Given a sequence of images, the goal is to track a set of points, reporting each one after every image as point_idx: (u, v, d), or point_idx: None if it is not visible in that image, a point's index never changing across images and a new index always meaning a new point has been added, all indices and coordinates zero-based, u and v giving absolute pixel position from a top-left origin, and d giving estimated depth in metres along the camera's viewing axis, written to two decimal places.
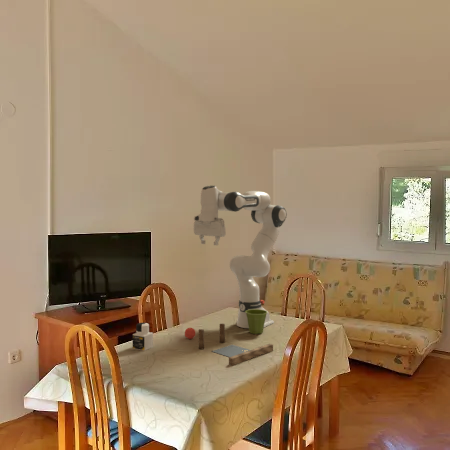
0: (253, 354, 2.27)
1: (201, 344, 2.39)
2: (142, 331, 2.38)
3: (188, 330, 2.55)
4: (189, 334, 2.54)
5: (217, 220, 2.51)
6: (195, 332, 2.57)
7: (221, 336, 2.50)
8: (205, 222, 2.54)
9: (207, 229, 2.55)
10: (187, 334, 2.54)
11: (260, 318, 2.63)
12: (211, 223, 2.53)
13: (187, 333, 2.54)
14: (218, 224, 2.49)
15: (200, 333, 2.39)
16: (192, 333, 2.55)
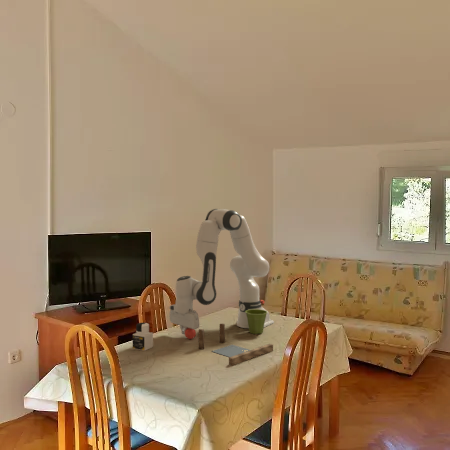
0: (253, 354, 2.27)
1: (201, 344, 2.39)
2: (142, 331, 2.38)
3: (188, 330, 2.55)
4: (189, 334, 2.54)
5: (191, 312, 2.54)
6: (195, 332, 2.56)
7: (221, 336, 2.50)
8: (180, 313, 2.56)
9: (182, 319, 2.57)
10: (187, 334, 2.54)
11: (260, 318, 2.63)
12: (185, 314, 2.55)
13: (187, 333, 2.54)
14: (192, 317, 2.52)
15: (200, 333, 2.39)
16: (192, 334, 2.54)
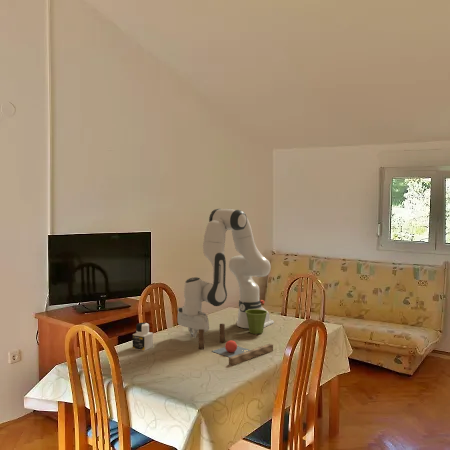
0: (253, 354, 2.27)
1: (201, 344, 2.39)
2: (142, 331, 2.38)
3: (225, 346, 2.35)
4: (226, 343, 2.34)
5: (200, 314, 2.49)
6: None
7: (221, 336, 2.50)
8: (188, 315, 2.51)
9: (191, 322, 2.52)
10: (226, 345, 2.33)
11: (260, 318, 2.63)
12: (194, 317, 2.50)
13: (225, 345, 2.34)
14: (201, 319, 2.47)
15: (200, 333, 2.39)
16: None
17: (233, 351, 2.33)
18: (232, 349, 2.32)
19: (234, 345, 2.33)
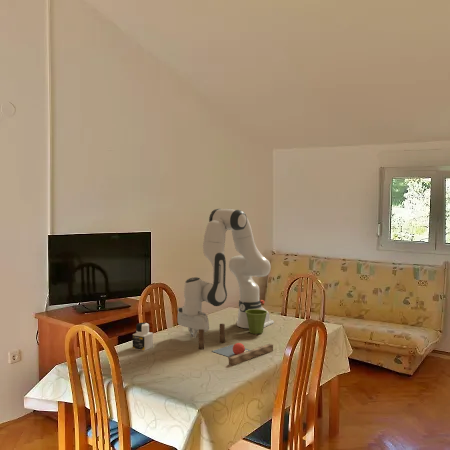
0: (253, 354, 2.27)
1: (201, 344, 2.39)
2: (142, 331, 2.38)
3: (237, 346, 2.29)
4: (239, 350, 2.28)
5: (200, 314, 2.49)
6: (244, 347, 2.31)
7: (221, 336, 2.50)
8: (188, 315, 2.51)
9: (191, 322, 2.52)
10: (236, 351, 2.28)
11: (260, 318, 2.63)
12: (194, 317, 2.50)
13: (236, 349, 2.28)
14: (201, 319, 2.47)
15: (200, 333, 2.39)
16: (242, 349, 2.28)
17: None
18: None
19: None
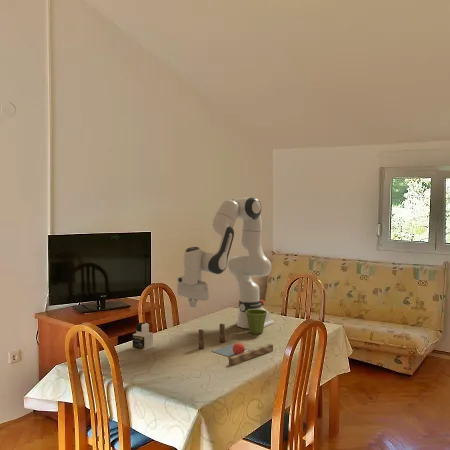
0: (253, 354, 2.27)
1: (201, 344, 2.39)
2: (142, 331, 2.38)
3: (237, 346, 2.29)
4: (239, 350, 2.28)
5: (200, 283, 2.48)
6: (244, 347, 2.31)
7: (221, 336, 2.50)
8: (188, 285, 2.50)
9: (190, 291, 2.51)
10: (236, 351, 2.28)
11: (260, 318, 2.63)
12: (194, 286, 2.49)
13: (236, 349, 2.28)
14: (201, 288, 2.46)
15: (200, 333, 2.39)
16: (242, 349, 2.28)
17: None
18: None
19: None
